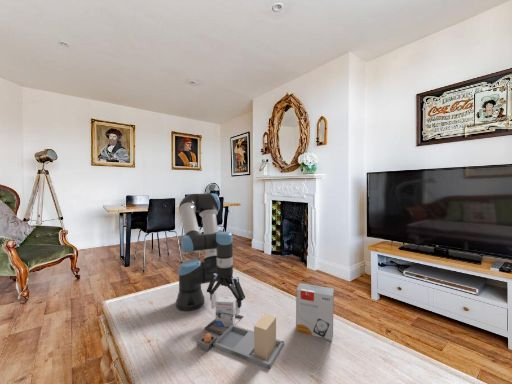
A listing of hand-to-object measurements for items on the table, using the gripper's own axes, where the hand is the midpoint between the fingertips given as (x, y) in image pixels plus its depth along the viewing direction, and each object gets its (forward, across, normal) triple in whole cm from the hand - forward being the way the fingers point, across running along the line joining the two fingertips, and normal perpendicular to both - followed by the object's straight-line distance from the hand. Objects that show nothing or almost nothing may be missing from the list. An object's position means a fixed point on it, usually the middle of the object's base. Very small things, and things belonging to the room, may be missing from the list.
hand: (225, 310), depth 112 cm
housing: (+7, +2, -15) cm, 17 cm away
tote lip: (+7, 0, 0) cm, 7 cm away
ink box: (+7, 0, 0) cm, 7 cm away
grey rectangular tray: (+7, +18, -9) cm, 21 cm away
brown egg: (+6, +2, -15) cm, 17 cm away
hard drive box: (+7, +39, +13) cm, 41 cm away
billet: (+6, +25, -9) cm, 27 cm away
